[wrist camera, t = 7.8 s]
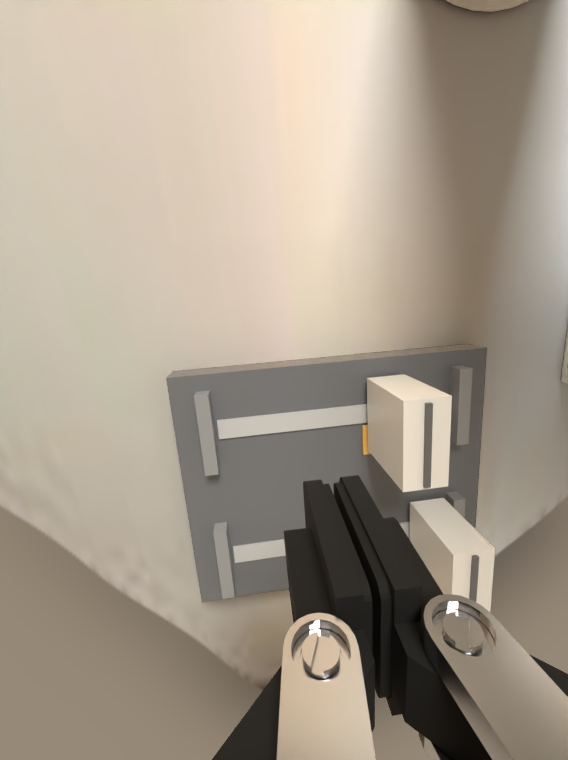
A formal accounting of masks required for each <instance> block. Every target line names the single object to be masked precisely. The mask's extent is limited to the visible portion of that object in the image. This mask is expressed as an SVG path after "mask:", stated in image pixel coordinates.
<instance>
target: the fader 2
mask: <svg viewBox="0 0 568 760" xmlns="http://www.w3.org/2000/svg"><path fill="white" fill-rule="evenodd" d="M410 541H411V543H412V545H413V546H414V548H415V549H416V551H417V553H418V554H419V556H420V557H421V559H422V561H423V562H424V564H425V565H426V567H427V568H428V570H429V572H430V573H431V575H432V576H433V578H434V580H435V581H436V583H437V584H438V586H439V588H440V589H441V591H442V592H443V594H444V595H445V594H453V595H460V596H463V597H466V598H468V599H471V600H473V601H475V602H476V603H478V604H480V605H481V606H483V607H484V608H485V609H487V610H488V611H489V612H490V608H491V595H492V583H493V570H494V558H495V548H494V547H493V546H492V545H491V544H490V543H489V542H488V541H487V540H486V539H485V538H484V537H483V536H482V535H481V534H480V533H479V532H478V531H477V530H476V529H475V528H474V527H473V526H472V525H471V524H470V523H469V522H468V521H467V520H465V519H464V518H463V517H462V516H461V515H460V514H459V513H458V512H457V511H456V510H455V509H454V508H453V507H452V506H451V505H450V504H449V503H448V502H447V501H446V500H445V499H444V498H438V499H430V500H423V501H416V502H410Z"/></svg>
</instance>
